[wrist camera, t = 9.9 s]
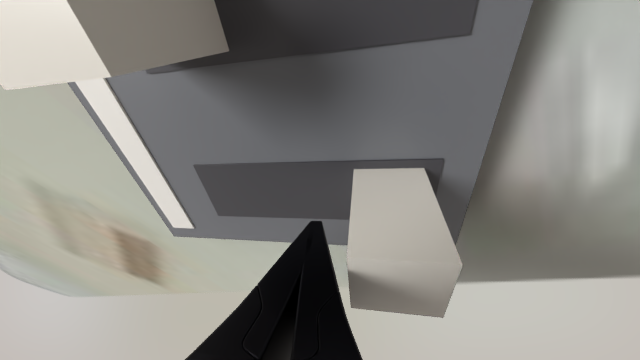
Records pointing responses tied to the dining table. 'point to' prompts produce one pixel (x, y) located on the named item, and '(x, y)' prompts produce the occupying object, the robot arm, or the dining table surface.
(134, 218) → the dining table surface
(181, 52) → the switch tab
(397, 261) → the switch tab
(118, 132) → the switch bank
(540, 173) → the dining table surface
